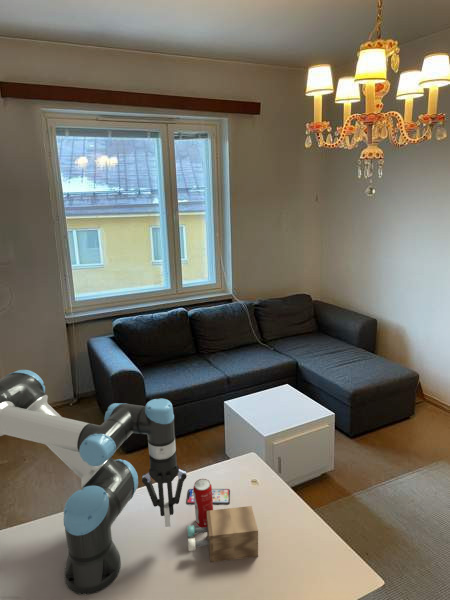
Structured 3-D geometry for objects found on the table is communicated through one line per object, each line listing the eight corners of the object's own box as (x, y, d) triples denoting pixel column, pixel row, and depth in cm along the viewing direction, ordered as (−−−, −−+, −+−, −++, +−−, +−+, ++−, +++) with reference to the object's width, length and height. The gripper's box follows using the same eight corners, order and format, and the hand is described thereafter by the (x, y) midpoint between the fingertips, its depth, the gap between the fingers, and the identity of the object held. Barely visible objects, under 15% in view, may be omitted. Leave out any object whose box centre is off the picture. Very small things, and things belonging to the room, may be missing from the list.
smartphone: (229, 503, 144) (185, 503, 145) (229, 505, 144) (185, 505, 145) (230, 488, 151) (188, 488, 152) (230, 490, 152) (188, 490, 152)
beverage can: (214, 516, 139) (213, 476, 136) (212, 531, 133) (210, 490, 129) (197, 515, 140) (195, 475, 136) (193, 530, 133) (191, 489, 130)
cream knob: (188, 553, 121) (188, 544, 121) (188, 545, 124) (187, 536, 123) (216, 550, 122) (216, 541, 121) (215, 541, 125) (215, 533, 124)
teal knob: (188, 539, 126) (187, 531, 125) (187, 532, 129) (187, 523, 128) (214, 536, 127) (214, 528, 126) (213, 529, 130) (213, 520, 129)
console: (210, 562, 122) (209, 536, 120) (207, 535, 131) (206, 510, 129) (258, 556, 123) (258, 530, 121) (251, 530, 133) (251, 505, 131)
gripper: (138, 463, 116) (144, 535, 121) (186, 458, 117) (190, 530, 123) (140, 447, 123) (146, 516, 128) (185, 443, 124) (189, 511, 130)
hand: (167, 523), depth 125 cm, fingers closed
